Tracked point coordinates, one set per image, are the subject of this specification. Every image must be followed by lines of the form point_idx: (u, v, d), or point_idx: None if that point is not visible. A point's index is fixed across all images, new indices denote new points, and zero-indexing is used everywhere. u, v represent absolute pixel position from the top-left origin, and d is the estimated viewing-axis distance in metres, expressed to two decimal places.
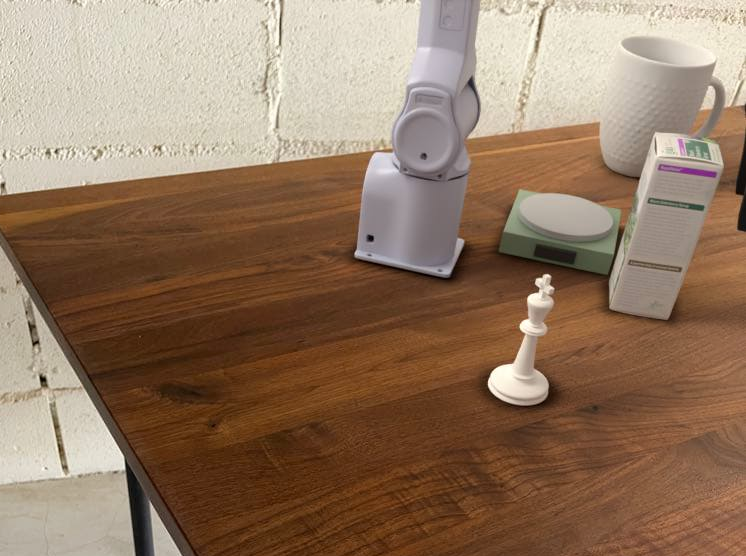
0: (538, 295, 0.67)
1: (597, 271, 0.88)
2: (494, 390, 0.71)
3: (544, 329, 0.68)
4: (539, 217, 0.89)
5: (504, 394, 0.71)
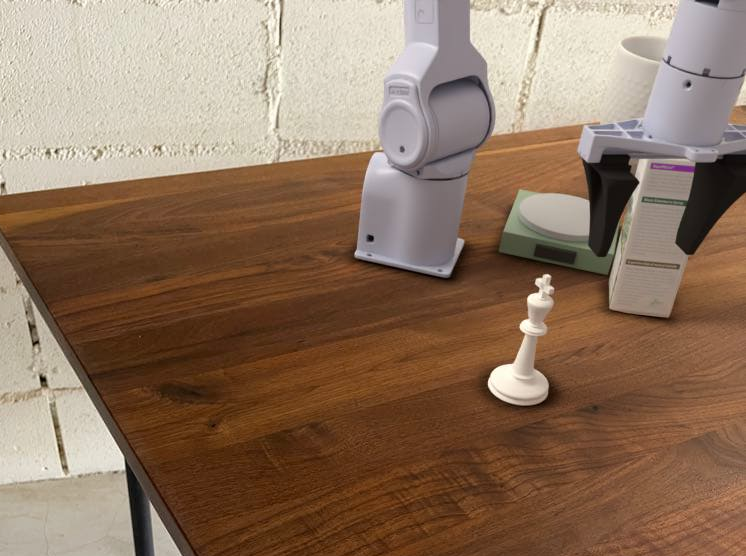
0: (538, 295, 0.67)
1: (597, 271, 0.88)
2: (494, 390, 0.71)
3: (544, 329, 0.68)
4: (539, 217, 0.89)
5: (504, 394, 0.71)
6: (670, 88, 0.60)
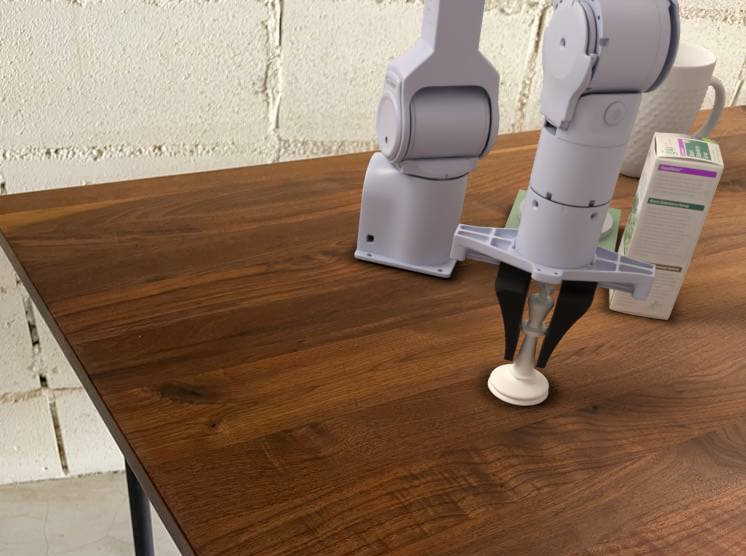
0: (538, 295, 0.66)
1: None
2: (494, 390, 0.71)
3: (544, 329, 0.68)
4: None
5: (504, 394, 0.71)
6: (526, 205, 0.61)
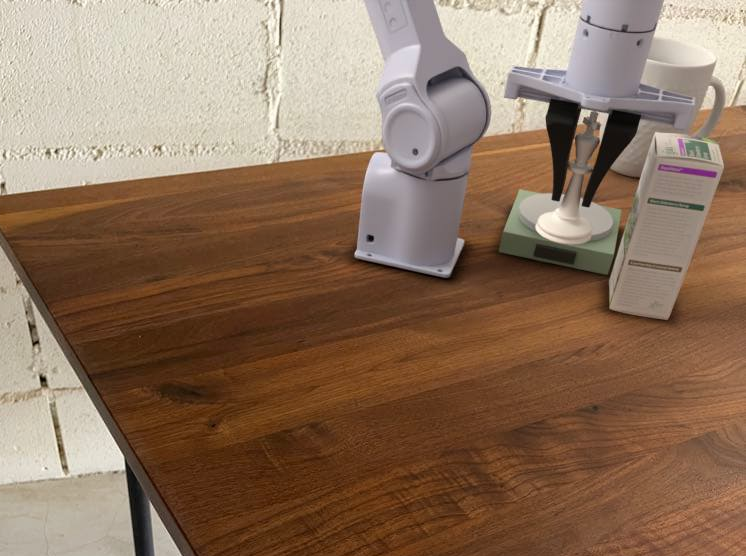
0: (585, 133, 0.72)
1: (597, 271, 0.88)
2: (541, 231, 0.77)
3: (590, 168, 0.73)
4: None
5: (551, 233, 0.76)
6: (576, 37, 0.67)
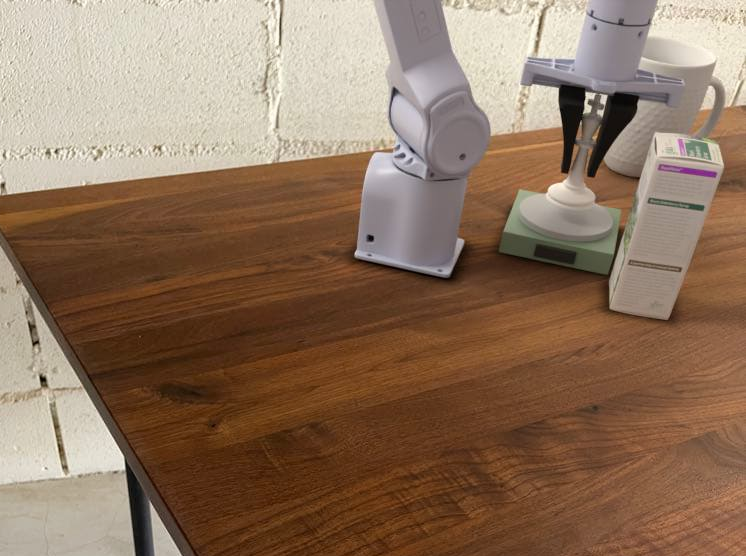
0: (590, 113, 0.83)
1: (597, 271, 0.88)
2: (553, 200, 0.88)
3: (594, 143, 0.85)
4: (539, 217, 0.89)
5: (562, 202, 0.87)
6: (585, 31, 0.78)
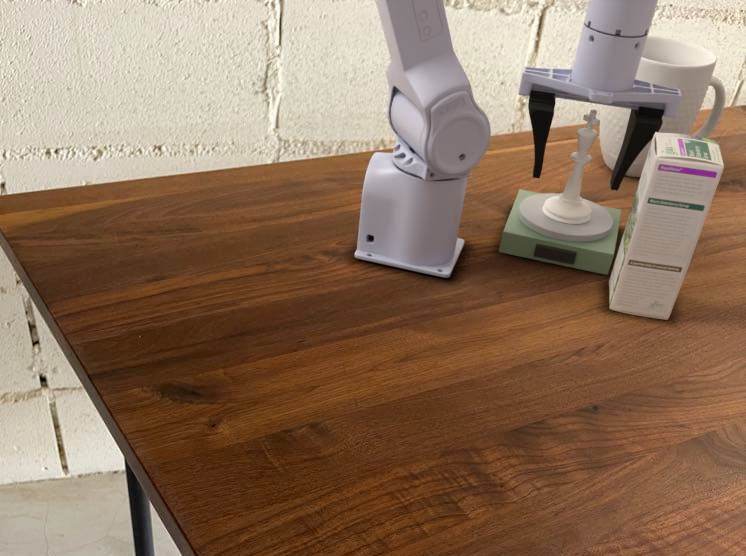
0: (586, 128, 0.84)
1: (597, 271, 0.88)
2: (549, 214, 0.89)
3: (590, 157, 0.86)
4: (539, 217, 0.89)
5: (559, 215, 0.88)
6: (582, 41, 0.78)
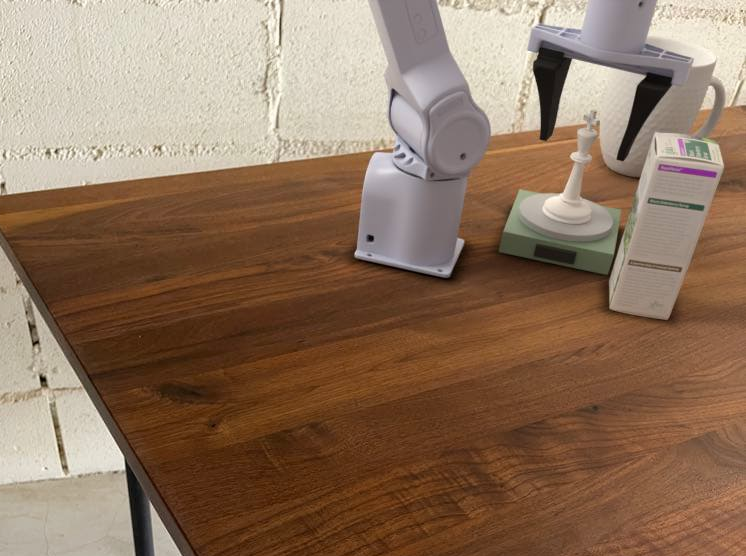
0: (586, 128, 0.84)
1: (597, 271, 0.88)
2: (549, 214, 0.89)
3: (590, 157, 0.86)
4: (539, 217, 0.89)
5: (559, 215, 0.88)
6: None
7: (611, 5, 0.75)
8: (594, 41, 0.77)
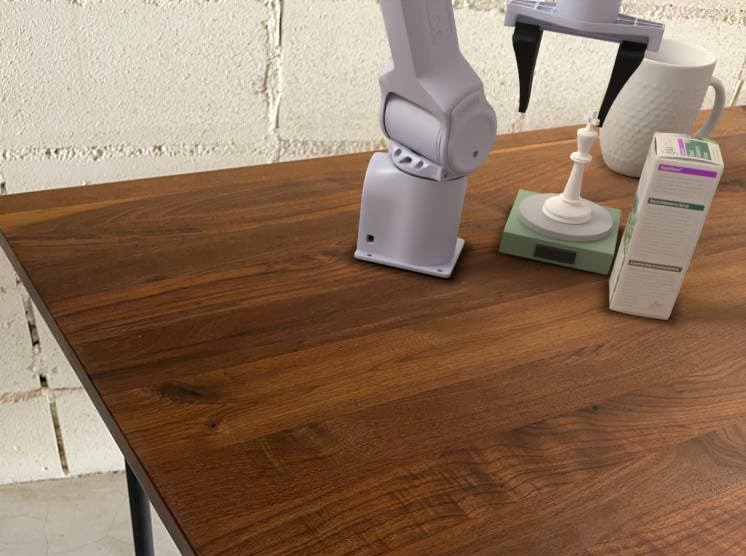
0: (586, 128, 0.84)
1: (597, 271, 0.88)
2: (549, 214, 0.89)
3: (590, 157, 0.86)
4: (539, 217, 0.89)
5: (559, 215, 0.88)
6: None
7: None
8: (573, 13, 0.80)
